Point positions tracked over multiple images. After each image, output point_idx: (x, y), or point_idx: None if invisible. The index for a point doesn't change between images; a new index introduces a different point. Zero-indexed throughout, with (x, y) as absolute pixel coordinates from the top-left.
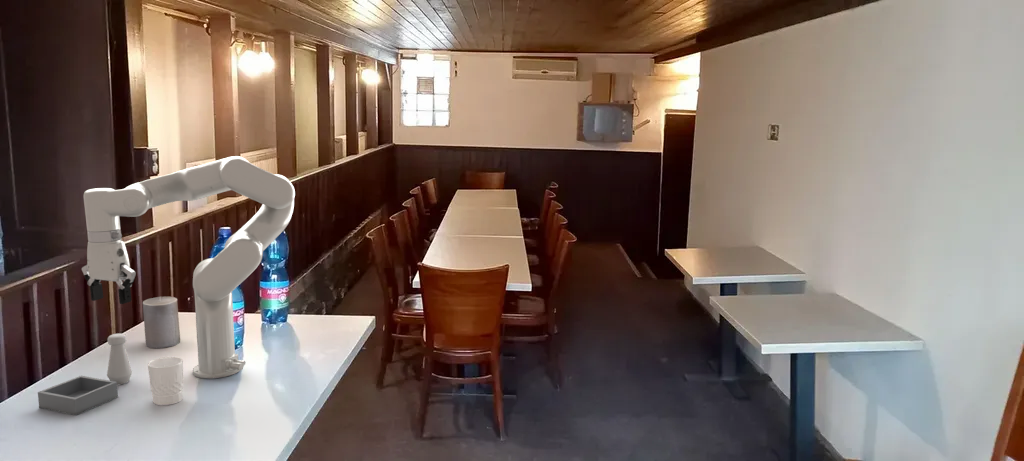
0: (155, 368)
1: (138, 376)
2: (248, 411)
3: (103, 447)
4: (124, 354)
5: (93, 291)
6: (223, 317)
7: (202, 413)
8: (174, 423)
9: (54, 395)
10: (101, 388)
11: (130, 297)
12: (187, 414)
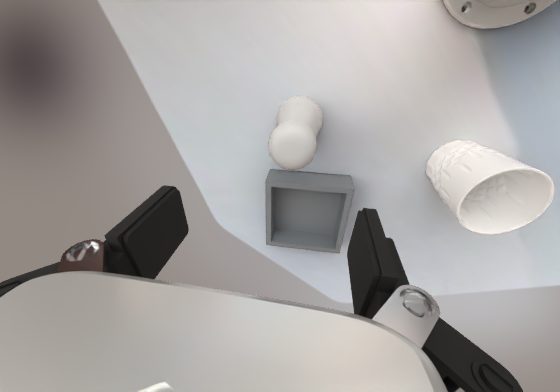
0: (489, 233)
1: (313, 75)
2: None
3: (434, 288)
4: (313, 131)
5: (164, 261)
6: None
7: None
8: None
9: (299, 248)
10: (347, 216)
11: (391, 240)
12: None
